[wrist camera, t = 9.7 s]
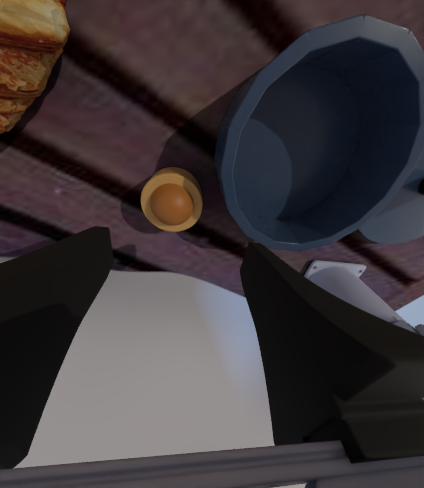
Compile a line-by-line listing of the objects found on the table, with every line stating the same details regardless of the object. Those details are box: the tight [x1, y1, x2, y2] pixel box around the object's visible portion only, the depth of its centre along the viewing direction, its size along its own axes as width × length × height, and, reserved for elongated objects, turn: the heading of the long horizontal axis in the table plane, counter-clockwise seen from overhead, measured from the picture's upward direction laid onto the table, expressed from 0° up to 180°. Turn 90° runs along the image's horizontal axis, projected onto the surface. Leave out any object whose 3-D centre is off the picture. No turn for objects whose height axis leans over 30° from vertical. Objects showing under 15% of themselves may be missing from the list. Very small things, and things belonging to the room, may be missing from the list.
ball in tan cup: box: [141, 167, 203, 232], centre depth 16 cm, size 5×5×4 cm
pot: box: [214, 14, 424, 251], centre depth 15 cm, size 14×14×5 cm
